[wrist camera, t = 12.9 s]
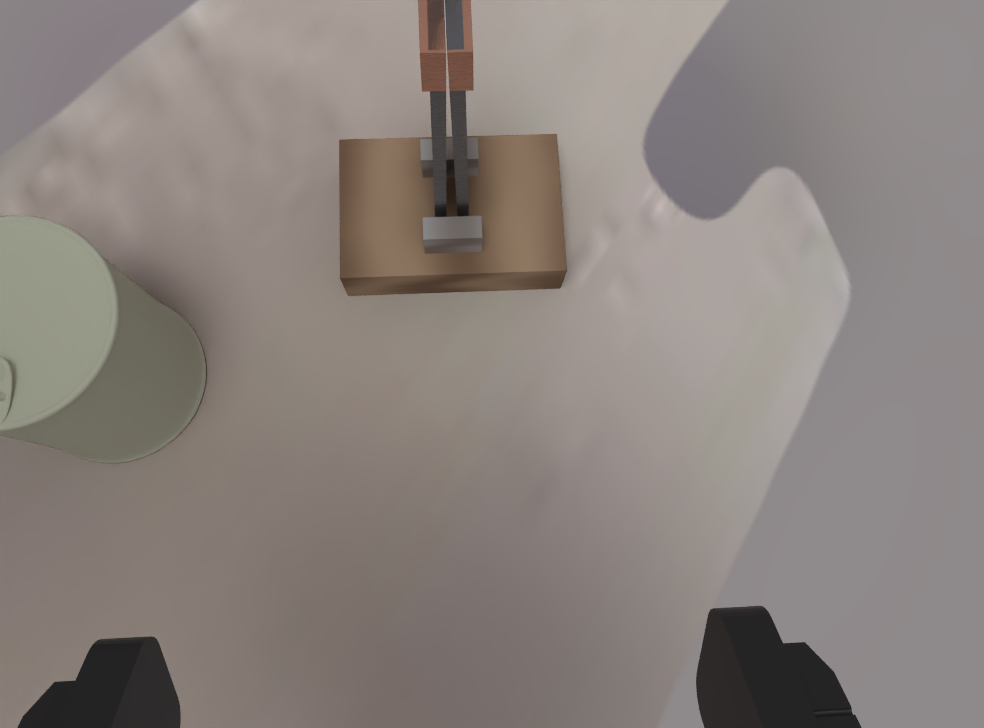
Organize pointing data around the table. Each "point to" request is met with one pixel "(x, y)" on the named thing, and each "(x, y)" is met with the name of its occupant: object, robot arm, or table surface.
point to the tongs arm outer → (459, 89)
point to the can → (88, 350)
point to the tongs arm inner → (435, 89)
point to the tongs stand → (450, 217)
